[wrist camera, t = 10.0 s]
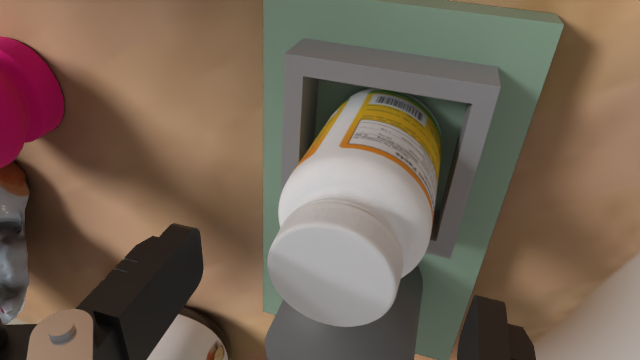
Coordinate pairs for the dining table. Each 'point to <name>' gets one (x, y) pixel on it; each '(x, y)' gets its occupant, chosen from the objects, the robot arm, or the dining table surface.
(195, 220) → the dining table surface
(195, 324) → the spread jar
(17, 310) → the lucky cat figurine
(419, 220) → the supplement bottle
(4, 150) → the pepper mill
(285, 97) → the desk organizer tray
